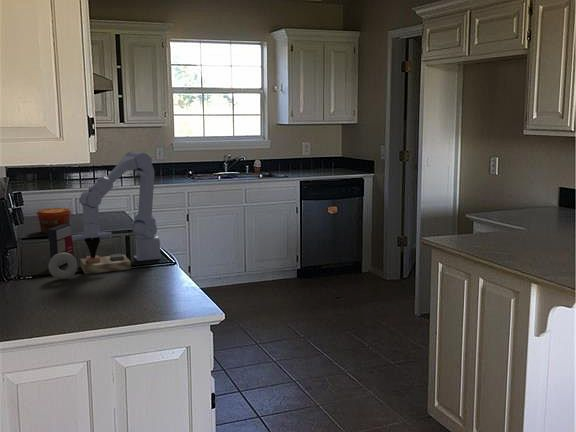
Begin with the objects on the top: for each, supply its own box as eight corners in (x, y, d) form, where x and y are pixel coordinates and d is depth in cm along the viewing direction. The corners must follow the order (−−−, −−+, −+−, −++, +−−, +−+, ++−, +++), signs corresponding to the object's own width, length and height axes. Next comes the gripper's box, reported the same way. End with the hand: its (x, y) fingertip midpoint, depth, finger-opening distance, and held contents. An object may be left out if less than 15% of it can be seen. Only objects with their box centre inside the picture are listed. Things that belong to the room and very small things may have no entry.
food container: (40, 229, 307) (39, 208, 305) (73, 228, 311) (72, 207, 309) (35, 235, 292) (33, 213, 290) (70, 234, 296) (69, 212, 294)
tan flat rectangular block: (124, 261, 246) (124, 254, 245) (130, 268, 235) (130, 261, 235) (80, 266, 238) (80, 258, 238) (85, 273, 228) (84, 266, 227)
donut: (78, 276, 224) (76, 250, 222) (78, 279, 221) (77, 252, 219) (49, 279, 220) (47, 252, 218) (49, 281, 217) (47, 254, 215)
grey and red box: (59, 267, 236) (57, 229, 233) (49, 267, 237) (47, 229, 234) (74, 260, 247) (72, 224, 244) (65, 260, 247) (62, 224, 245)
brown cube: (98, 265, 237) (98, 255, 237) (100, 267, 234) (99, 257, 233) (86, 266, 235) (86, 256, 235) (88, 269, 232) (88, 258, 231)
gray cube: (121, 263, 241) (121, 253, 241) (124, 266, 238) (123, 256, 237) (110, 264, 239) (110, 254, 239) (112, 267, 236) (112, 257, 235)
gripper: (72, 225, 225) (74, 261, 227) (112, 222, 231) (114, 257, 233) (70, 222, 231) (72, 257, 233) (109, 219, 237) (110, 253, 240)
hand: (93, 257), depth 234 cm, fingers closed, pressing on brown cube
